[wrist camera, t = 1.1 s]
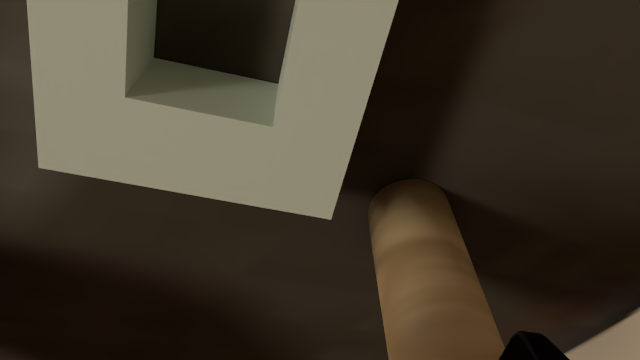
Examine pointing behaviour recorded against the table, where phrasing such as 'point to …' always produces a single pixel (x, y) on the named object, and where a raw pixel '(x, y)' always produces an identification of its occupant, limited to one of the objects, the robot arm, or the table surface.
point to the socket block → (204, 103)
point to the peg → (427, 278)
